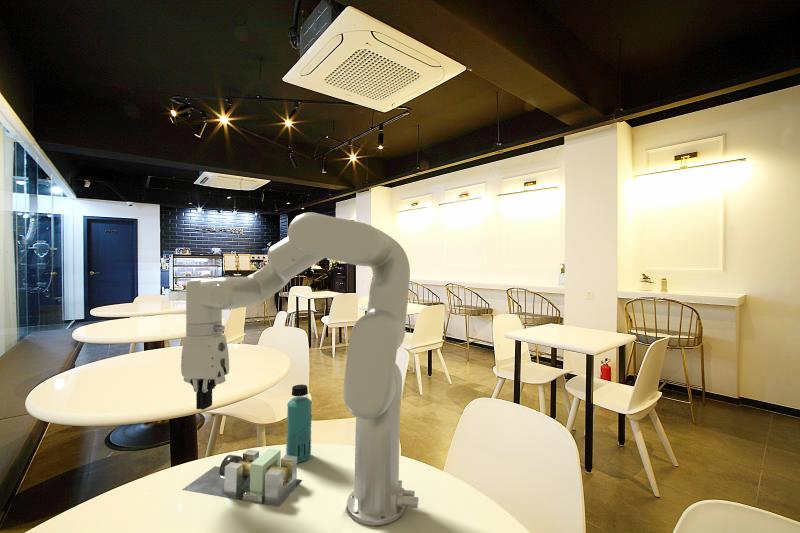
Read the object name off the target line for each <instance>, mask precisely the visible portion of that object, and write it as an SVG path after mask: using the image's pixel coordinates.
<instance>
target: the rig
mask: <svg viewBox="0 0 800 533" xmlns="http://www.w3.org/2000/svg"><path fill="white" fill-rule="evenodd" d="M258 457H260V451H259V450H254V449H247V450H246V451H244V452H243V453H242V459H243V461H245V462H253V461H255V460H256V459H257V458H258ZM280 467H285V468H288V471H289V473H288V477H287V480H286V481H285V483H283V470H279V469H272V468H271V469H269V470H268V471H267V472H266V473H265V496H264V494H259V493H254V492H250V478H247V477H242V475H243V464H239V463H233V462H231V463H229V464H228V465H227V466H225V479H224V478H221V477H220V475H219V470H220V466H218V465H217V466H216V465H214V466H212V467H211V468H210V469H208V471H205V473H203V474H202V475H201V476H199V477H198V478H196V479H195V480H194V481H192V482H191V483H189V484H187V486H185V487H183V488H182V490H183V491H189V492H194V493H199V494H203V495H210V496H215V497H220V498H227V499H231V500H238V501H243V502H249V503H253V504H261V505H266V506H272V507H276V508H279V507H281V505H282V504H283V503H284V502H285V501H286V500H287V498H289V496H290V495H291V494H292V493H293V492H294V490H295V489H296V488H297V487H298V486H299V484H301V482H303V479H298V478H297V474H298V473H297V472H298V470H297V469H298V463H297V456H290V455H286V454H285V455H284V456H282V457H281V458H280Z"/></svg>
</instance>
